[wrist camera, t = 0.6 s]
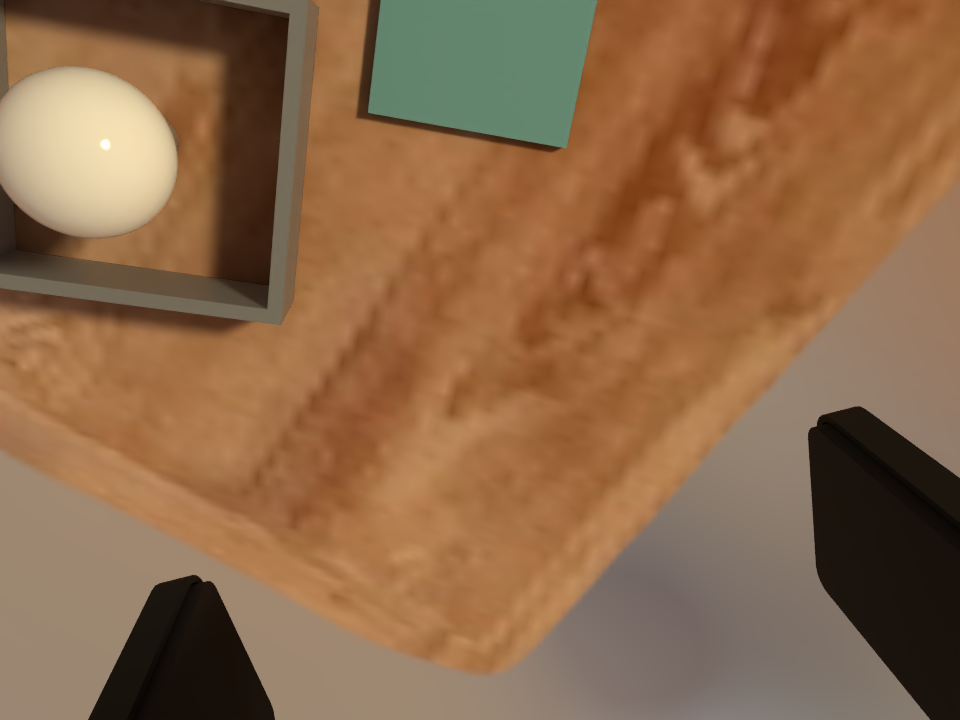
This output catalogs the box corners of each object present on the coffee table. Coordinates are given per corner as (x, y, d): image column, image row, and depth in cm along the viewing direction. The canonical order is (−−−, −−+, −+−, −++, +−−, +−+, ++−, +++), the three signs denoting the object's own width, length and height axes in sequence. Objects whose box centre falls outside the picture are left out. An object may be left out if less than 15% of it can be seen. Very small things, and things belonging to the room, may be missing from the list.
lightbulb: (223, 80, 34) (145, 79, 24) (221, 213, 36) (149, 264, 26) (81, 59, 33) (-62, 49, 23) (88, 197, 35) (-40, 243, 25)
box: (-16, -59, 31) (-73, -78, 28) (319, 7, 33) (308, -2, 30) (1, 261, 36) (-44, 282, 32) (293, 301, 38) (281, 325, 35)
